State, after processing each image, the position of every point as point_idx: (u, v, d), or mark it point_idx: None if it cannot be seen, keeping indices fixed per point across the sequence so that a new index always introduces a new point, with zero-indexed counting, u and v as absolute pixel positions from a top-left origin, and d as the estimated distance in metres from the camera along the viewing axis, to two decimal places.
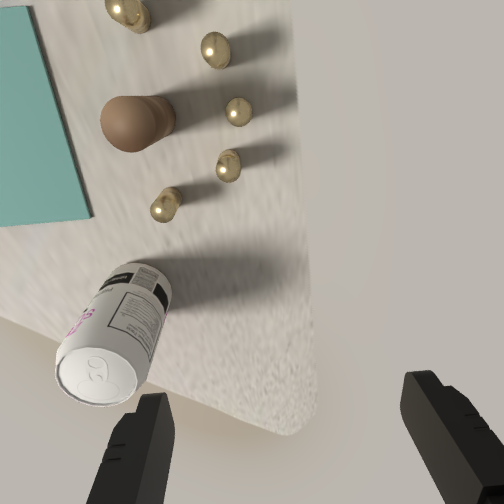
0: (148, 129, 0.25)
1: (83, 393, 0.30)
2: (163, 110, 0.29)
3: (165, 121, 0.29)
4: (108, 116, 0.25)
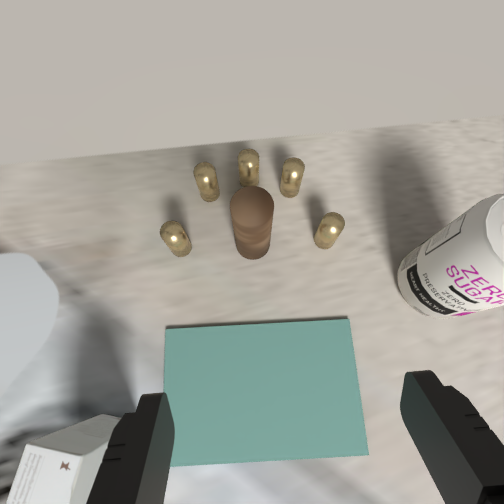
0: (255, 190, 0.31)
1: None
2: None
3: None
4: (245, 219, 0.30)
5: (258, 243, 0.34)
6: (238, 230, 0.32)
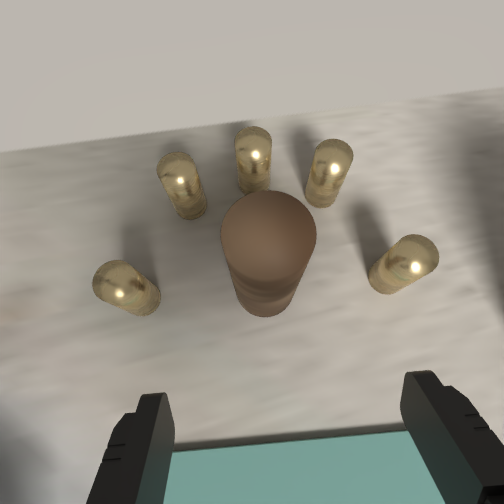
0: (274, 200, 0.14)
1: None
2: None
3: None
4: (254, 263, 0.13)
5: (279, 300, 0.18)
6: (240, 282, 0.16)
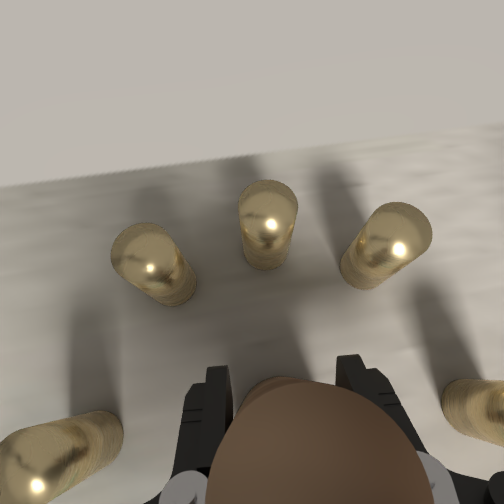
0: (330, 410, 0.06)
1: None
2: (264, 384, 0.11)
3: (292, 378, 0.11)
4: None
5: None
6: None
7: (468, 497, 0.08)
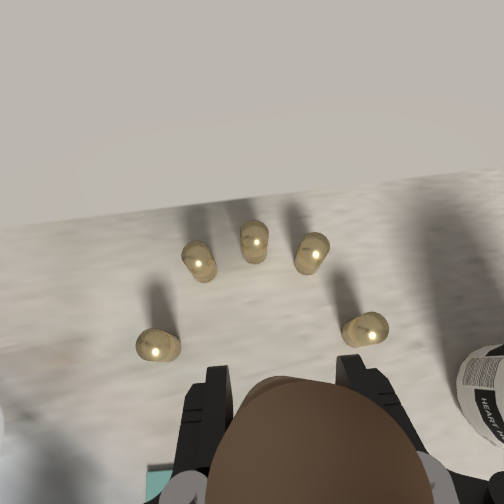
0: (329, 409, 0.06)
1: None
2: (264, 383, 0.11)
3: None
4: None
5: None
6: None
7: (468, 497, 0.08)
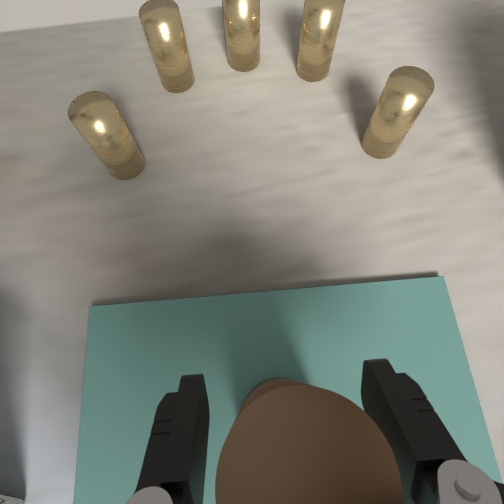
0: (317, 408, 0.08)
1: None
2: (264, 385, 0.12)
3: (288, 380, 0.12)
4: None
5: None
6: None
7: None
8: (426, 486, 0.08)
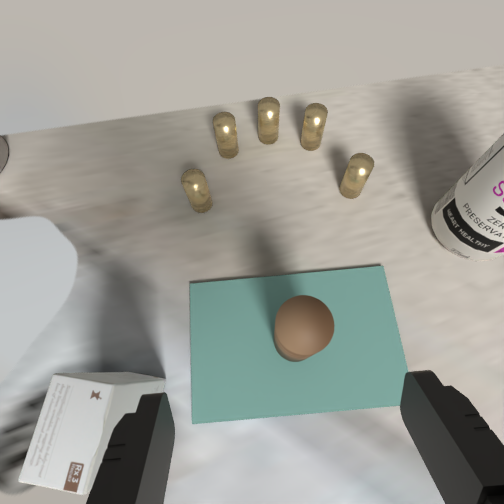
0: (308, 302, 0.23)
1: None
2: None
3: None
4: (296, 344, 0.22)
5: None
6: (285, 350, 0.24)
7: None
8: None
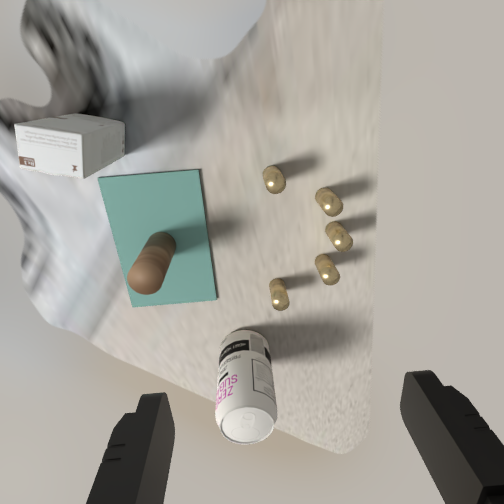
0: (158, 282, 0.38)
1: (234, 435, 0.44)
2: (168, 254, 0.42)
3: (169, 262, 0.42)
4: (132, 275, 0.38)
5: None
6: (135, 260, 0.40)
7: None
8: None
